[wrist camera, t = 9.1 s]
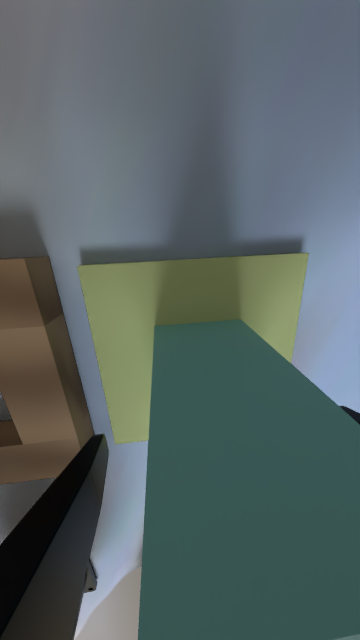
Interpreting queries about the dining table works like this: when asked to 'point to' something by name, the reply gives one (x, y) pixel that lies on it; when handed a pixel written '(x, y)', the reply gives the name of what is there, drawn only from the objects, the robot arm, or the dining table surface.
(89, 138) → the dining table surface
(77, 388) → the frame
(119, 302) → the olive mat
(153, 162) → the dining table surface
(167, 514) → the teal peg
